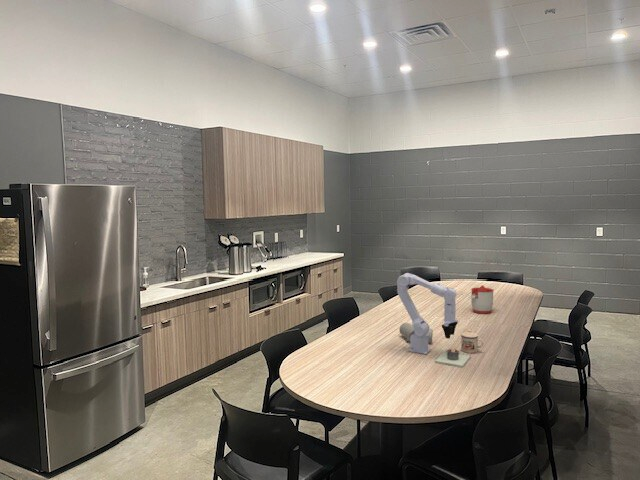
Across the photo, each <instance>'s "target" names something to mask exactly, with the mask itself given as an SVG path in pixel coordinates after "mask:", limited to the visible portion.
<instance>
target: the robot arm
mask: <svg viewBox="0 0 640 480" xmlns="http://www.w3.org/2000/svg"><path fill="white" fill-rule="evenodd" d="M396 285H397V287H396V288H397V289H396V293H397V294H398V297H399V299H400V300H401V303H402V305H403V306H404V308H405V310H406V312H407V314H408V315H409V318H410V319H411V322H412V324H411V325H413V328H414V333H415V334H412V335H411V338H410V342H409V344H410V345H409V352H412V353H417V354H424V355H427V354H428V353H429V352H430V351H431V349H430V348H429V343H428V333H427V332H428V331H429V329H430V325H429V323H427V322H426V320H425V319H424V318H423V317H422V316H421V315H420V312H419V311H418V309H417V306H416V305H415V303H414V302H413V300H412V297H411V296H410V294H409V292H408V291H409V287H410V286H412V285H413V286H414V285H418V286H421V287H423V288H426V289H429V290H430V293H432V294H434V295H437V296H439V297H441V298H443V299H444V312H443V313H444V315H443V316H444V317H443V318H444V319H443V324H442V325H441V328H442V331H443V332H444V337H445V339H448V340H449V339H451V335H452V336H454V335H455V331H456V327H457V325H458V319H457V318H456V297H457V291H456V290H455V289H454V288H453V287H448V286H444V285H442V284H441V283H440V282H434V283H433V282H430V281H428V280H426V279H424V278H422V277H419V275H416V274H413V273H409V272H406V273H404V274H401V275H400V276H398V277H397V280H396Z"/></svg>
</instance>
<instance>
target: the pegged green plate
mask: <svg viewBox="0 0 640 480" xmlns="http://www.w3.org/2000/svg"><path fill="white" fill-rule="evenodd" d="M455 350H456V349H454V350H453V348H452V350H451V352H455ZM470 359H471V355H465V354H460V353H459V359H458V360H449V359H447V351H443V353H441V354H440V355H439V356H438V357H437V358H436V359H435V360H434V363H435V364H440V365H446V366H452V367H457V368H464V366H465V365H466V364H467V363H468V361H470Z"/></svg>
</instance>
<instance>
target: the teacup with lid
mask: <svg viewBox="0 0 640 480" xmlns="http://www.w3.org/2000/svg"><path fill="white" fill-rule="evenodd" d="M460 337H461V339H460V340H461V341H460V350H461V351H462V352H463V353H468V354H474V353H477V352H478V349H481V348H482V347H483V346H484V344H485V343H484V340H483V339H481V338H478V337H479V335H478V333H476V332H473V331H472V329H467V331H465V332H462V333H461V334H460ZM478 342H481V345H480V346H478V344H479V343H478Z"/></svg>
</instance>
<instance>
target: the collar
mask: <svg viewBox="0 0 640 480" xmlns="http://www.w3.org/2000/svg"><path fill="white" fill-rule="evenodd" d="M452 349H453V348H452ZM452 349H451V348H450V349H447V351H446V352H447V359H449V360H458V359H459V354H460V352H459V350H457V349H455V348H454V349H453V350H455V352H451V350H452Z"/></svg>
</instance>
